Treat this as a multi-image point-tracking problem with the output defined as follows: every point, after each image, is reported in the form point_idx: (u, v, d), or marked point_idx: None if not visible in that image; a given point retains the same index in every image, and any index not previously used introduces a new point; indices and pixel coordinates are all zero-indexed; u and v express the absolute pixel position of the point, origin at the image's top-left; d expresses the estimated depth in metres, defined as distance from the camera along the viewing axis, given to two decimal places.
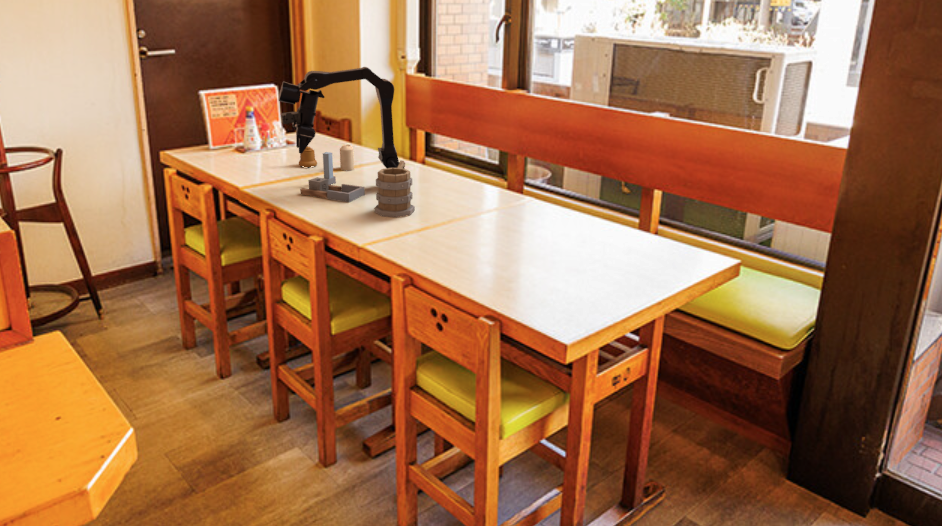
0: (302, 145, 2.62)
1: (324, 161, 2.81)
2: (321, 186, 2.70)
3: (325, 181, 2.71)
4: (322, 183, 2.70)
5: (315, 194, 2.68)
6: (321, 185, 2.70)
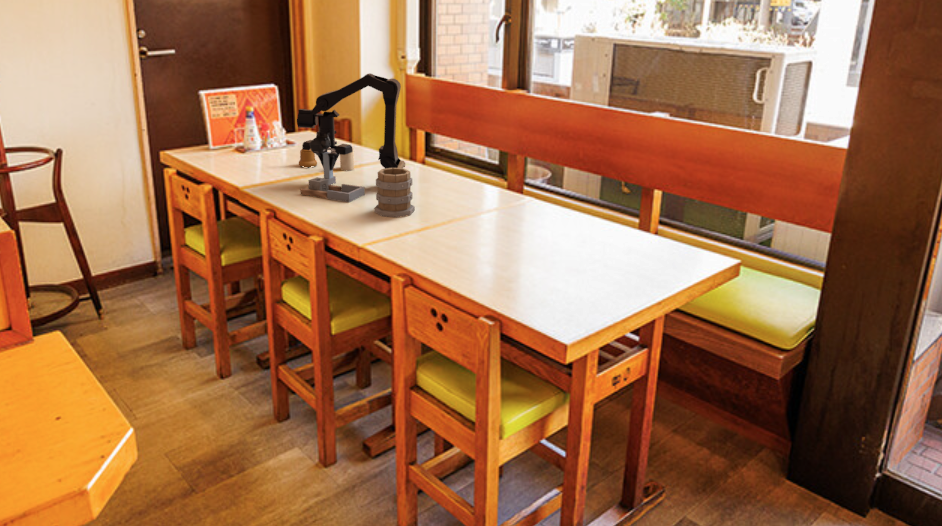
0: (333, 162, 2.81)
1: (324, 161, 2.81)
2: (321, 186, 2.70)
3: (325, 181, 2.71)
4: (322, 183, 2.70)
5: (315, 194, 2.68)
6: (321, 185, 2.70)
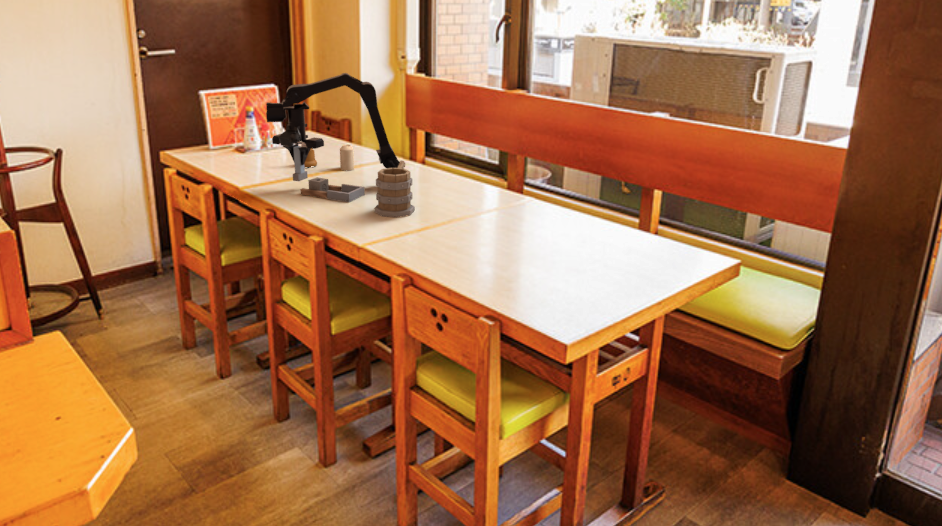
0: (304, 157, 2.71)
1: (295, 155, 2.71)
2: (321, 186, 2.70)
3: (325, 181, 2.71)
4: (322, 183, 2.70)
5: (315, 194, 2.68)
6: (321, 185, 2.70)
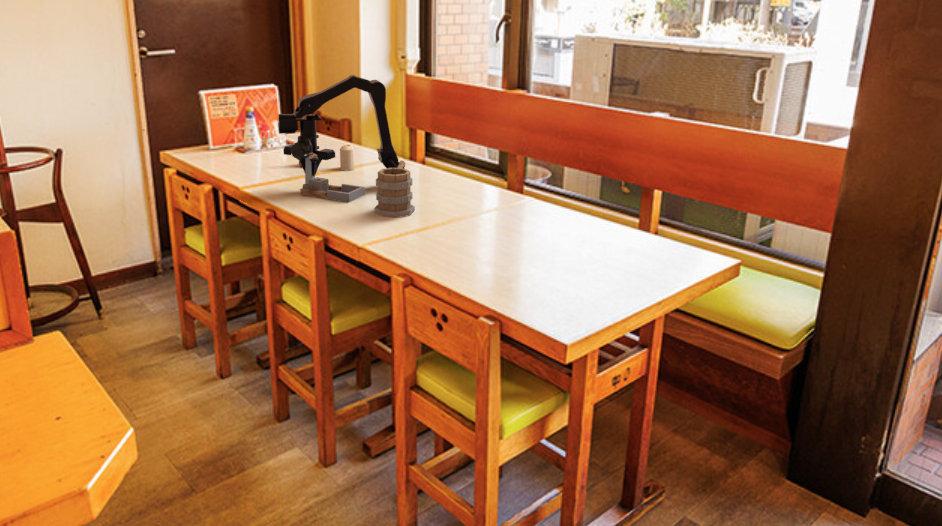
0: (315, 168, 2.71)
1: (306, 166, 2.70)
2: (321, 186, 2.70)
3: (325, 181, 2.71)
4: (322, 183, 2.70)
5: (315, 194, 2.68)
6: (322, 185, 2.70)
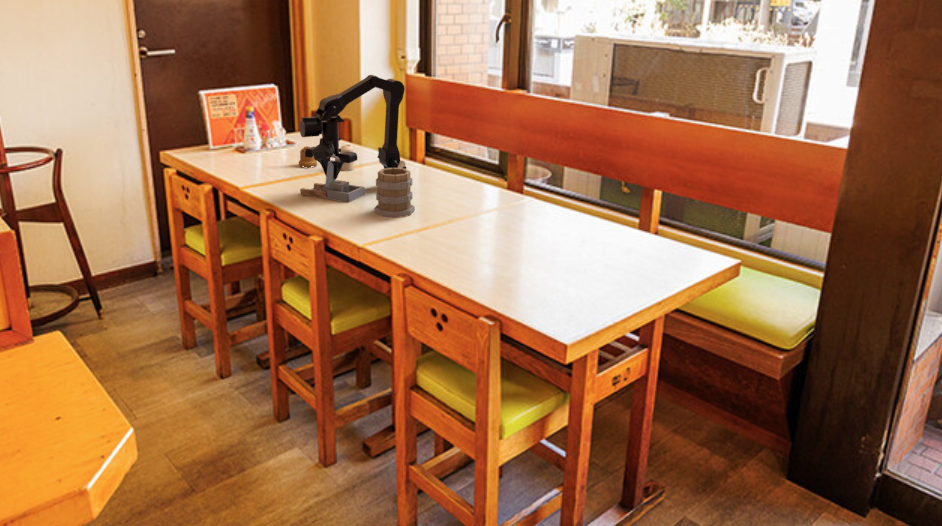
0: (337, 171, 2.67)
1: (328, 170, 2.67)
2: (342, 189, 2.67)
3: (346, 184, 2.68)
4: (343, 186, 2.67)
5: (315, 194, 2.68)
6: (343, 188, 2.67)
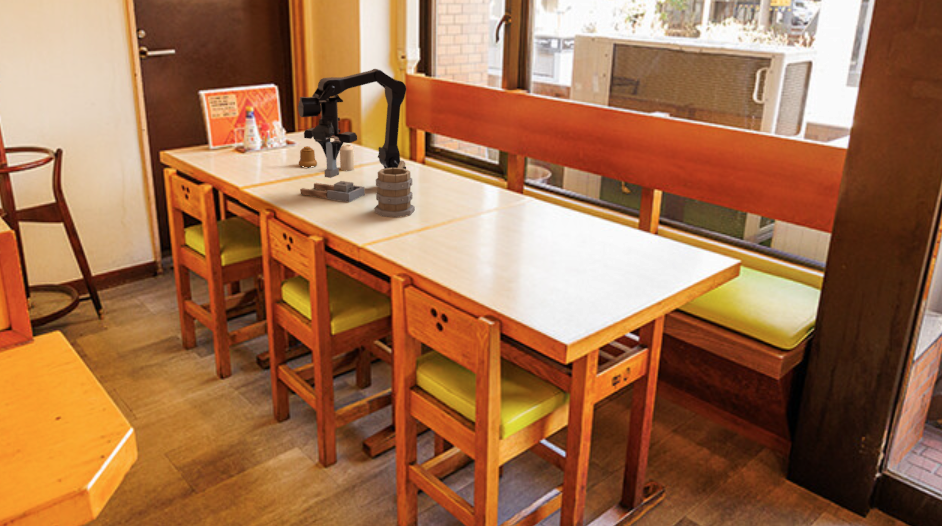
0: (336, 151, 2.65)
1: (327, 151, 2.65)
2: (347, 190, 2.66)
3: (350, 185, 2.68)
4: (348, 187, 2.66)
5: (315, 194, 2.68)
6: (347, 188, 2.66)
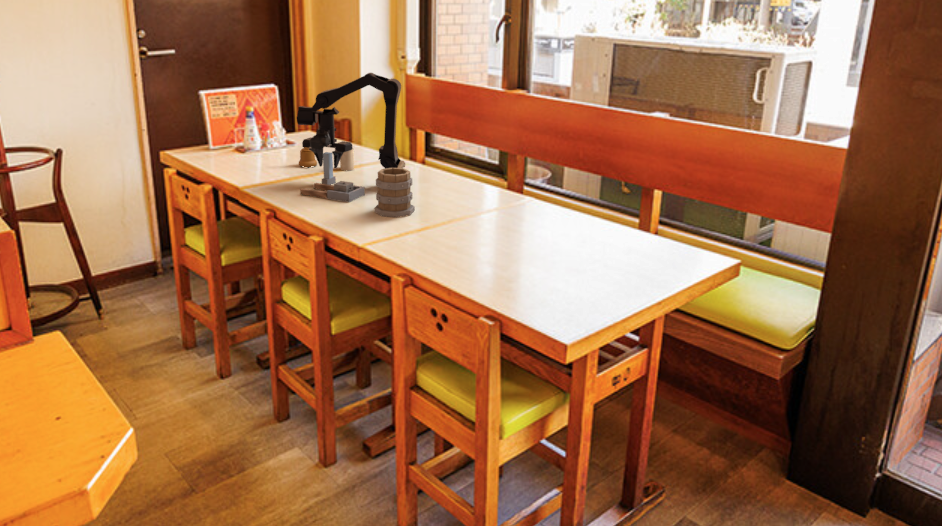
0: (337, 160, 2.80)
1: (324, 161, 2.81)
2: (347, 190, 2.66)
3: (350, 184, 2.68)
4: (348, 187, 2.66)
5: (315, 194, 2.68)
6: (347, 188, 2.66)
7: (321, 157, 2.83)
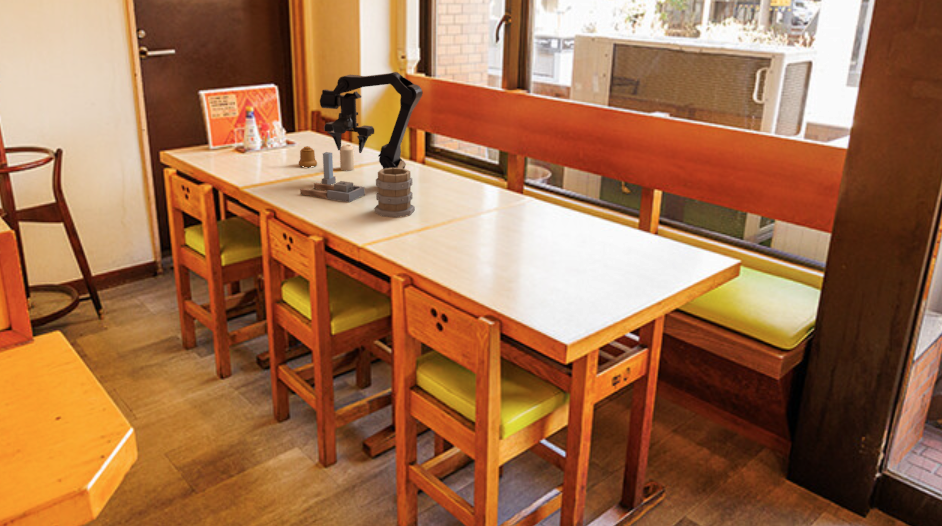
0: (362, 145, 2.81)
1: (324, 161, 2.81)
2: (347, 190, 2.66)
3: (350, 185, 2.68)
4: (348, 187, 2.66)
5: (315, 194, 2.68)
6: (348, 188, 2.66)
7: (339, 141, 2.85)
